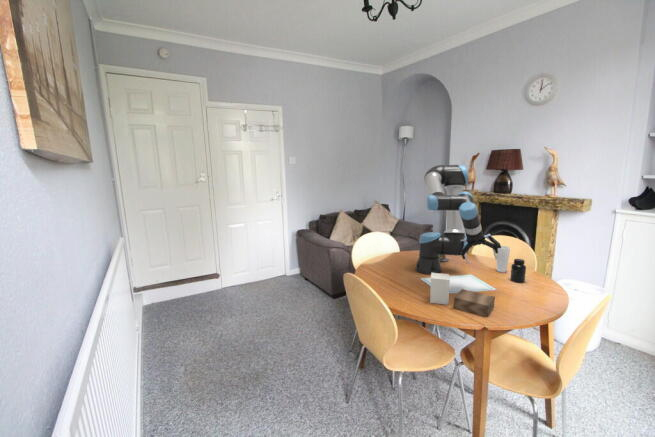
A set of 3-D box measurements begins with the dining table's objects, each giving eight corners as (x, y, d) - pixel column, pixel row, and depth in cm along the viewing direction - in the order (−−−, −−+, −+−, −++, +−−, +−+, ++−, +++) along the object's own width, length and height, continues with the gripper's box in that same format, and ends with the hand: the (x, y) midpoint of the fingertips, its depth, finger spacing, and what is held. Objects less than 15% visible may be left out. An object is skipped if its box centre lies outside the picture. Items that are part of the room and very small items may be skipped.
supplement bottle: (526, 283, 165) (529, 262, 163) (512, 282, 167) (514, 261, 165) (521, 278, 172) (523, 258, 170) (508, 278, 173) (510, 257, 171)
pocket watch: (448, 259, 208) (449, 245, 207) (449, 263, 201) (449, 248, 199) (435, 258, 211) (436, 244, 209) (435, 262, 203) (436, 247, 202)
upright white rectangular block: (429, 302, 144) (431, 278, 142) (430, 295, 151) (431, 272, 149) (448, 304, 141) (449, 280, 139) (447, 297, 148) (448, 274, 146)
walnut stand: (453, 307, 138) (454, 297, 137) (461, 298, 147) (462, 289, 146) (487, 317, 129) (488, 305, 128) (494, 306, 138) (494, 296, 138)
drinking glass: (492, 269, 188) (494, 245, 185) (503, 269, 188) (505, 245, 186) (499, 273, 181) (501, 248, 178) (510, 272, 182) (512, 248, 179)
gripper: (447, 241, 151) (457, 269, 162) (504, 229, 141) (510, 260, 152) (445, 231, 157) (455, 258, 168) (500, 219, 147) (506, 250, 158)
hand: (481, 259), depth 160 cm, fingers open, 13 cm apart
